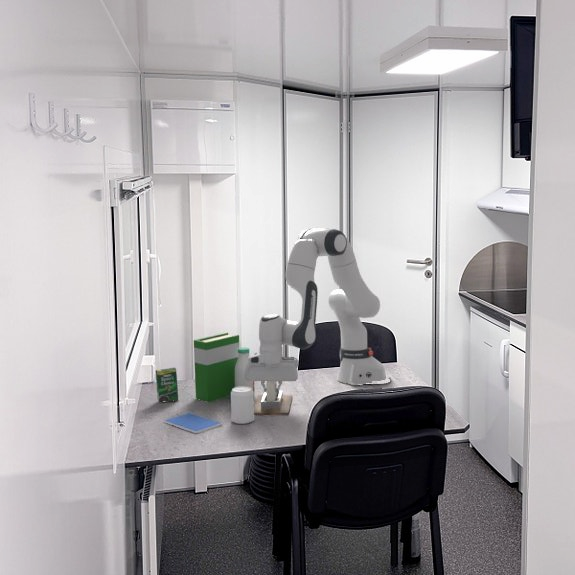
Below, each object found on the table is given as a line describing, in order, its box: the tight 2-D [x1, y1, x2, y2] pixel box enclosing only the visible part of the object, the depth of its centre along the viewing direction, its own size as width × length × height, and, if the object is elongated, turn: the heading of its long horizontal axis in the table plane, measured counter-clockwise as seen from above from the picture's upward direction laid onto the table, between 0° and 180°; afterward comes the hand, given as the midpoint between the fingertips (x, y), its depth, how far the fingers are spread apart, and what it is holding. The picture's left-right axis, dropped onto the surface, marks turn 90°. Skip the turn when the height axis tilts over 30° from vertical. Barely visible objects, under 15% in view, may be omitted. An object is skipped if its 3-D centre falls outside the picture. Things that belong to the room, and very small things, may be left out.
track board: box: [254, 394, 293, 416], centre depth 288 cm, size 14×22×1 cm, turn 176°
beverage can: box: [230, 386, 255, 425], centre depth 270 cm, size 8×8×12 cm
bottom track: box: [261, 390, 284, 410], centre depth 288 cm, size 7×15×3 cm, turn 176°
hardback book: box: [193, 332, 241, 403], centre depth 301 cm, size 18×7×24 cm, turn 137°
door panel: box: [265, 381, 278, 401], centre depth 287 cm, size 3×10×8 cm, turn 176°
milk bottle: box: [235, 346, 255, 398], centre depth 298 cm, size 8×8×20 cm
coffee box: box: [155, 367, 179, 403], centre depth 295 cm, size 8×3×13 cm, turn 110°
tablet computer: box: [163, 412, 223, 435], centre depth 269 cm, size 19×13×1 cm, turn 46°
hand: (271, 391), depth 287 cm, fingers closed on door panel, 3 cm apart
